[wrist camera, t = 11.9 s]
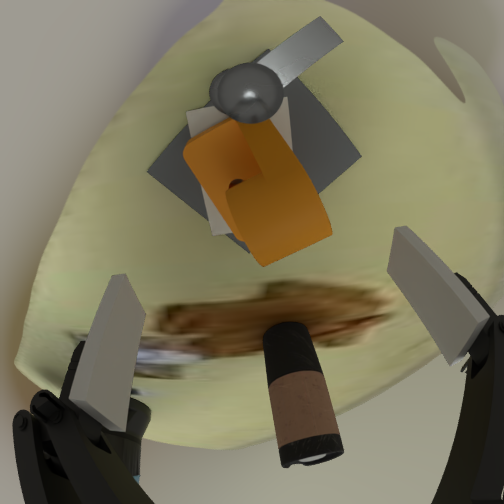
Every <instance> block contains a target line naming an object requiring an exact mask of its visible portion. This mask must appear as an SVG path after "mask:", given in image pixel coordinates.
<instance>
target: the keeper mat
mask: <svg viewBox="0 0 504 504" xmlns="http://www.w3.org/2000/svg"><path fill="white" fill-rule="evenodd" d="M270 52H271V51H270V50H269V49H268V50H266V51H265V52H264V53H263V54H261V55H260V56H259V57H258V58H257V59H255V60H254V61H253V62H252V63H257V62H259V61H260V60H261V59H262V58H263V57H265V56H266V55H267V54H268V53H270ZM283 89H284V97H283V102H282V104H281V106H280V108H279V110H278V111H277V112H276V113H275V114H274V115H273V116H272V117H271V118H269V119H270V120H271V122H272V123H273V124H274V126H275V127H276V128H277V130H278V131H279V133H280V134H281V135H282V137H283V138H284V140H285V141H286V143H287V144H288V145H289V147H290V148H291V150H292V151H293V153H294V154H295V156H296V157H297V159H298V160H299V162H300V163H301V165H302V166H303V168H304V169H305V171H306V173H307V174H308V176H309V178H310V179H311V181H312V183H313V185H314V187H315V189H316V191H317V193H318V194H319V193H320V192H321V191H322V190H323V189H325V188H326V187H327V186H328V185H329V184H330V183H332V182H333V181H334V180H335V179H336V178H337V177H338V176H340V175H341V174H342V173H343V172H344V171H345V170H347V169H348V168H349V167H350V166H351V165H352V164H354V163H355V162H356V161H357V160H358V159H359V158H361V157H362V156H361V155H360V153H359V152H358V151H357V149H356V148H355V146H354V145H353V144H352V142H351V141H350V140H349V138H348V137H347V136H346V134H345V133H344V132H343V130H342V129H341V128H340V126H339V125H338V124H337V123H336V121H335V120H334V119H333V118H332V116H331V115H330V114H329V113H328V112H327V110H326V109H325V108H324V107H323V106H322V104H321V103H320V102H319V101H318V100H317V99H316V97H315V96H314V95H313V94H312V93H311V92H310V91H309V90H308V88H307V87H306V86H305V85H304V84H303V83H302V82H301V81H300V80H299V79H298V78H297V77H296V78H295V79H294V80H292V81H291V82H290V83H289V84H288V85H286V86H285V87H284V88H283ZM186 115H187V120H188V124H187V125H186V126H185V127H184V128H183V130H182V131H181V132H180V133H179V134H178V135H177V136H176V137H175V138H174V140H173V141H172V142H171V143H170V144H169V145H168V147H167V148H166V149H165V150H164V151H163V152H162V154H161V155H160V156H159V157H158V158H157V160H156V161H155V162H154V163H153V165H152V166H151V167H150V168H149V170H148V171H147V172H148V173H149V174H150V175H151V176H153V177H154V178H155V179H156V180H158V181H159V182H160V183H161V184H163V185H164V186H165V187H166V188H168V189H169V190H170V191H171V192H173V193H174V194H175V195H176V196H178V197H179V198H180V199H181V200H183V201H184V202H185V203H186V204H188V205H189V206H190V207H191V208H193V209H194V210H195V211H196V212H198V213H199V214H200V215H202V216H203V217H204V218H205V219H207V220H208V221H209V223H210V228H211V232H212V236H216V235H221V234H225V235H227V236H228V237H229V238H230V239H232V240H233V241H234V242H236V243H237V244H238V245H239V246H241V247H242V248H243V249H244V250H246V251H247V252H248V253H250V250H249V249H248V247H247V245H246V244H245V242H243V241H240V240H238V239H237V238H236V237H235V235H234V234H233V232H232V231H231V229H230V228H229V226H228V225H227V223H226V222H225V220H224V219H223V217H222V216H221V214H220V213H219V211H218V210H217V208H216V207H215V205H214V204H213V202H212V201H211V199H210V198H209V196H208V195H207V193H206V192H205V190H204V188H203V187H202V185H201V184H200V182H199V181H198V179H197V178H196V176H195V175H194V173H193V172H192V170H191V169H190V167H189V166H188V164H187V163H186V161H185V160H184V157H183V151H184V148H185V146H186V144H187V142H188V141H189V140H190V139H191V138H193V137H194V136H196V135H198V134H200V133H201V132H203V131H205V130H207V129H209V128H210V127H212V126H214V125H216V124H218V123H220V122H222V121H223V120H225V119H227V118H229V116H228V115H227V114H224V113H222V112H220V111H219V110H217V109H216V108H215V107H214V105H213V104H212V102H211V100H210V101H209V102H208V103H207V104H206V105H205V106H204V107H203V108H201V109H196V110H191V111H186ZM242 181H243V180H242V179H235V180H233V181H231V183H233V184H238V183H240V182H242Z"/></svg>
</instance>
